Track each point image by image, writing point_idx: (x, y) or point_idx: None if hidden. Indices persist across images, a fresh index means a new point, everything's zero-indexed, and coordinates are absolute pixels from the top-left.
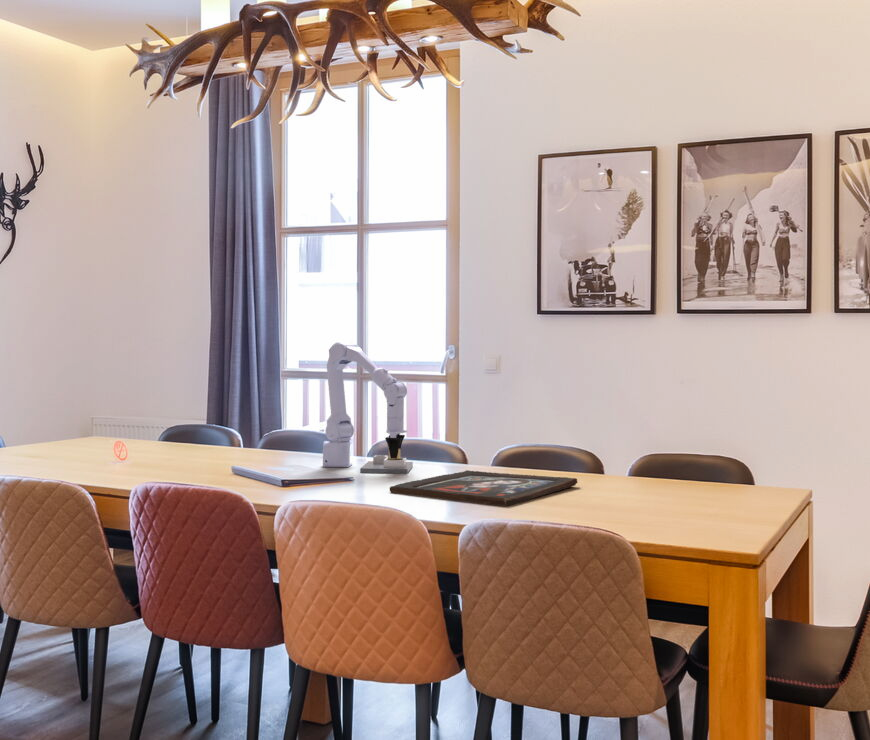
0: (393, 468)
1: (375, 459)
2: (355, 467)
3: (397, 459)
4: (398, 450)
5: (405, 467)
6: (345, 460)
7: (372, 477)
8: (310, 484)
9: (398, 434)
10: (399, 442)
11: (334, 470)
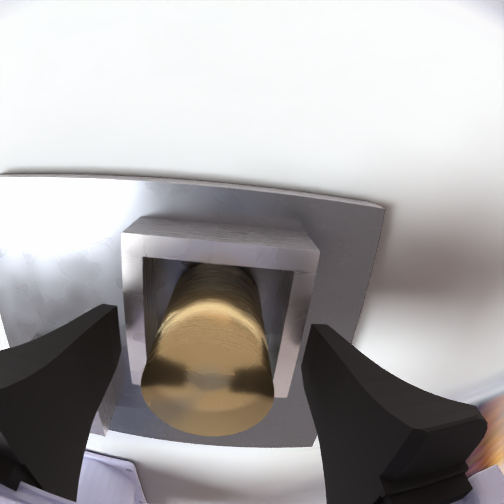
0: (342, 305)
1: (107, 416)
2: (119, 443)
3: (258, 310)
4: (257, 354)
5: (290, 221)
6: (115, 485)
7: (454, 365)
8: (487, 451)
9: (13, 475)
10: (449, 403)
11: (227, 489)
